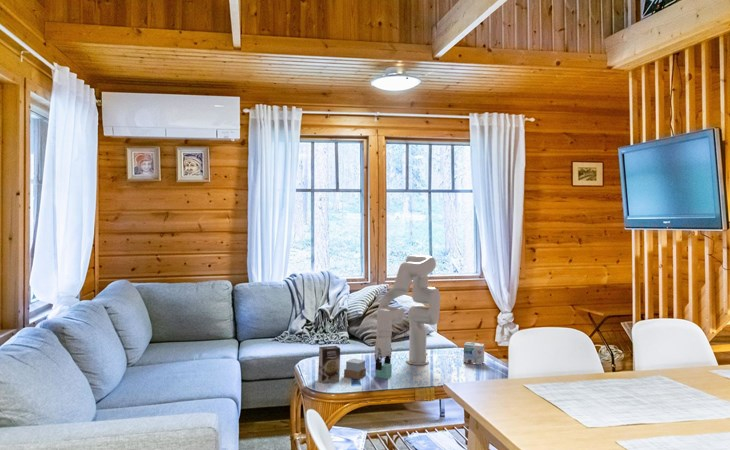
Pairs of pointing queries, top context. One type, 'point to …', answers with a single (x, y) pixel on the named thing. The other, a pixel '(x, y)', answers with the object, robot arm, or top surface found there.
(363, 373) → the walnut base block
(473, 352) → the light bulb box
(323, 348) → the coffee box
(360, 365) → the slate grey top block
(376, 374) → the teal cube
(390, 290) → the robot arm
